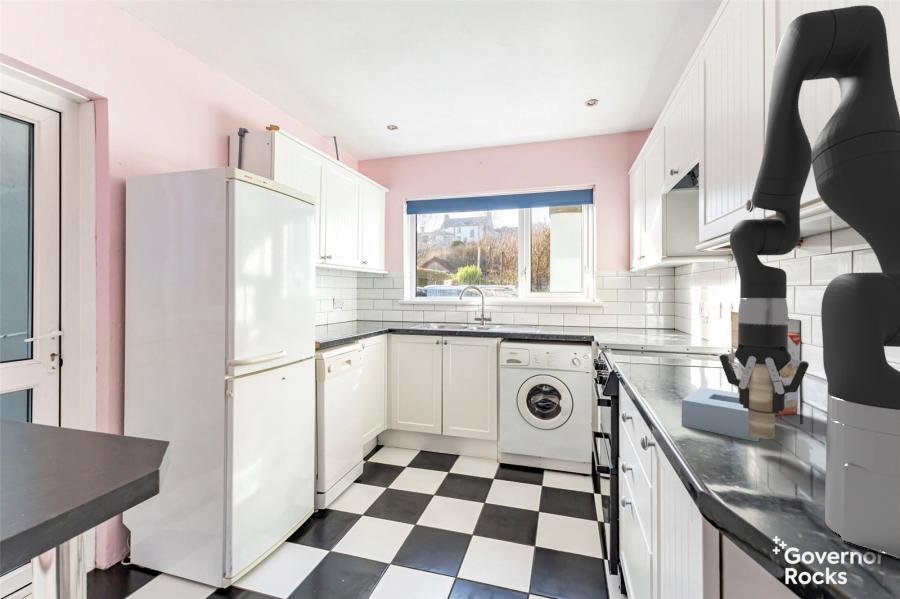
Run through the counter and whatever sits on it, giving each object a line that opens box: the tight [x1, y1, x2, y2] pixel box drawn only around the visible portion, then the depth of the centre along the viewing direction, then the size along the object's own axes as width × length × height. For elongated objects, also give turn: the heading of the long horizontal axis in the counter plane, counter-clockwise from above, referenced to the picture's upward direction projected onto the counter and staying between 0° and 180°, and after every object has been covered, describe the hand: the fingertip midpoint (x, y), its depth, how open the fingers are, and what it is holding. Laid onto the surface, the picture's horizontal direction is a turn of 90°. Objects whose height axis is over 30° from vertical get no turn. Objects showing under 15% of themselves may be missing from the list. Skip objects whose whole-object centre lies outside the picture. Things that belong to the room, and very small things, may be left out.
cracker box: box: [737, 332, 801, 416], centre depth 101 cm, size 14×6×21 cm, turn 105°
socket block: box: [681, 386, 760, 442], centre depth 92 cm, size 18×14×6 cm
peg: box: [748, 363, 776, 440], centre depth 75 cm, size 4×4×14 cm
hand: (761, 409), depth 75 cm, fingers closed on peg, 4 cm apart
